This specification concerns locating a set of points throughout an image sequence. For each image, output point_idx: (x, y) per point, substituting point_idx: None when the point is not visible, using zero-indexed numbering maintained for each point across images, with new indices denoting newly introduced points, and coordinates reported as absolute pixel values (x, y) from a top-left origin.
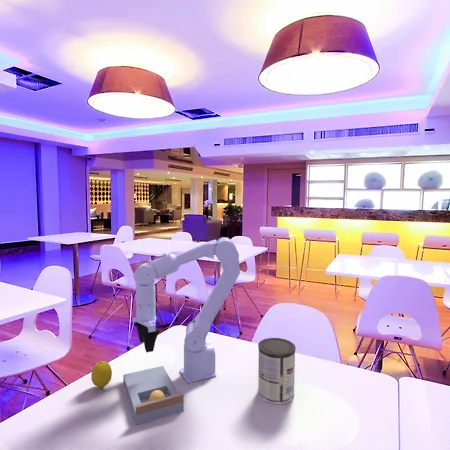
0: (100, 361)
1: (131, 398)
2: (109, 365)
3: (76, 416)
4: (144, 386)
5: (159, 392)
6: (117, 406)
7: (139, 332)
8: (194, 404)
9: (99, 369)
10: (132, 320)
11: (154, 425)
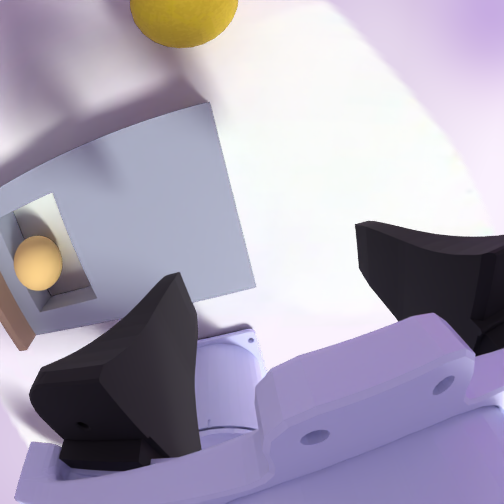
0: None
1: (25, 174)
2: (181, 21)
3: (40, 4)
4: (93, 215)
5: (25, 283)
6: (52, 115)
7: (400, 249)
8: (66, 347)
9: None
10: (410, 322)
11: None
